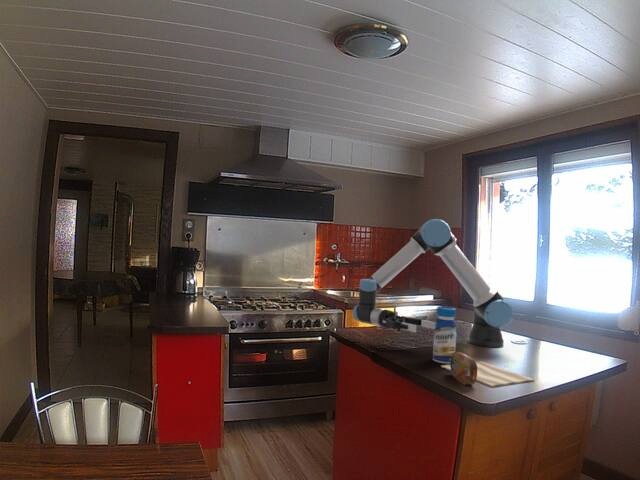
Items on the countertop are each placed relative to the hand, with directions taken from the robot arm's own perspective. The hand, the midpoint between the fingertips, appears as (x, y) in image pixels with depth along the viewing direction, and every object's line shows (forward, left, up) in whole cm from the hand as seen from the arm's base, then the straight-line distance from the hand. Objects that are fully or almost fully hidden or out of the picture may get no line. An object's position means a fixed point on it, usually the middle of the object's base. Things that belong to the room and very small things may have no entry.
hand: (426, 327), depth 166 cm
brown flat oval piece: (+9, +29, -11) cm, 32 cm away
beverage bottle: (-2, +9, -11) cm, 14 cm away
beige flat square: (-5, +26, -11) cm, 28 cm away
